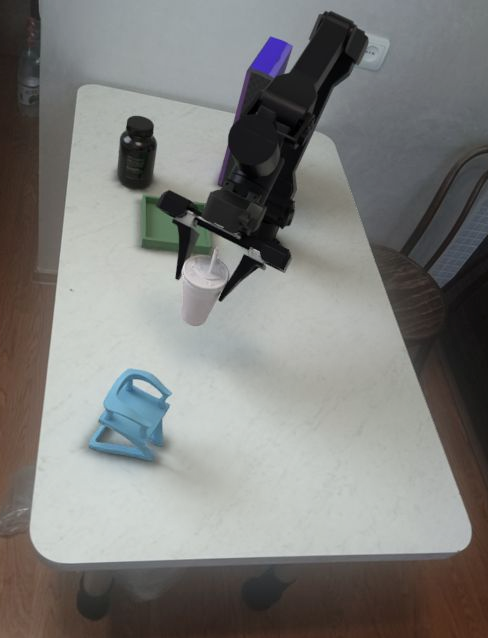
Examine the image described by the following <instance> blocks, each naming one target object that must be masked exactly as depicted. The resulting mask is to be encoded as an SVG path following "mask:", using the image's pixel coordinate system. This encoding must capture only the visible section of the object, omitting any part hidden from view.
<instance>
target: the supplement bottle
mask: <svg viewBox="0 0 488 638" xmlns="http://www.w3.org/2000/svg"><path fill="white" fill-rule="evenodd" d="M154 129H155V125H154V122H153V121H152V120H151V119H150V118H148V117H146V116H142V115H132V116H129V117H128V118H127V120H126V126H125V130H124V131H123V132H122V133H121V134H120V136H119V144H118V156H117V157H118V159H117V170H116V171H117V172H116V176H117V179H118V181H119V182H120V183H121V184H122V185H123V186H125V187H128V188H129V189H134V190H141V189H146V188H147V187H149V186H150V185H151V184H152V183H153V180H154V179H153V178H154V172H155V164H156V157H157V149H158V142H157V139H156V137H155V136H154Z"/></svg>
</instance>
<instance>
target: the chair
mask: <svg viewBox="0 0 488 638" xmlns="http://www.w3.org/2000/svg"><path fill="white" fill-rule="evenodd" d="M135 380H138V381H142V382H146V383H148V384H150V385H151V386H153V387H154V388H155V389H156V390H157V391H158V392H159V393H160V394H161V395H162V396H160V398H159V397H157V396H155V395H152V394H151V393H148V392H147V391H144V390H143V389H141V388H139V387H137V386H135V385H134V381H135ZM172 395H173V391H171V390H170V389H169V388H167V387H166V386H165V384H164V383H162V381H161V380H160V379H159V378H158V377H157V376H155V375H154V374H153V373H151V372H149V371H146V370H142V369H136V368H127V369H126V370H125V371H123V372H122V373H121V374H120V375H119V377H118V378H117V379H116V380H115V381H114V383H113V385H112V386H111V387H110V389H109V391H108V392H107V393H106V396H105V397H104V399H103V402H102V405H103V408H104V409H105V410H104V411H103V412H102V414H101V415H100V416H99V418H98V422H97V423H99V424H101V425H100V426H99V427H98V429H97V430H96V431H95V433H94V434H93V435H92V437H90V440H89V441H88V447H89V449H92V450H95V451H98V452H103V453H104V452H105V453H108V454H109V453H110V454H115V455H121V456H126V457H131V458H137V459H140V460H145V461H148V462H152V461H154V458H155V454H154V452H153V451H152V450H150V448H148V447H147V443H148V442H149V441H150V442H151V443H153V445H155V446H157V447H162V446H163V445H164V432H163V419H164V417H165V415H166V414H167V412H168V411H169V409H170V407H171V403H169V402H167V400H168V398H169V397H170V396H172ZM107 428H109V429H111V430H112V431H114V432H116V433H117V434H119V435H121V436H122V437H124V438H125V439H126V440H127V441H129V442H130V443H131V444H132V445H133V446H127V445H122V444H121V445H119V444H115V443H114V444H113V443H106V442H99V439H100V437H101V436H102V435H103V433H104V432H105V430H106V429H107Z"/></svg>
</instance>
